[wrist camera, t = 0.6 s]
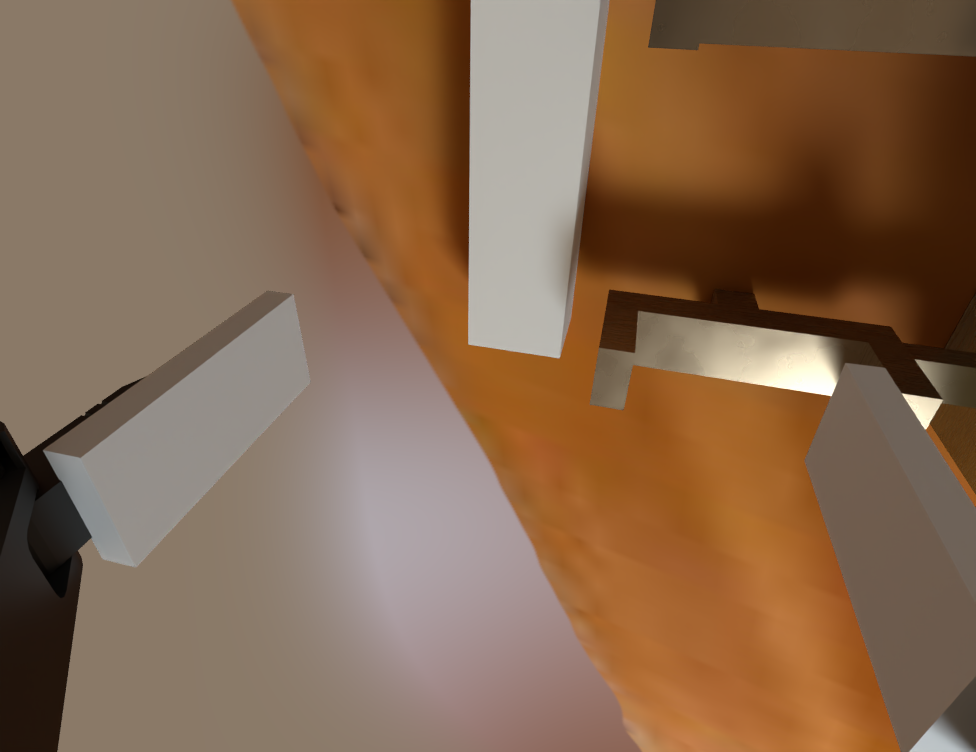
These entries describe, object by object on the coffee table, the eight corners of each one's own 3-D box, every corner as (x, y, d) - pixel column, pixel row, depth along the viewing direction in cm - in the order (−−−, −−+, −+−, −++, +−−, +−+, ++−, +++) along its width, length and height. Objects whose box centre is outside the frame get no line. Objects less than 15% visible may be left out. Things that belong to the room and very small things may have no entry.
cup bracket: (678, -131, 22) (699, -276, 11) (1272, -135, 18) (2264, -362, 7) (599, 352, 34) (569, 524, 23) (945, 405, 31) (1113, 640, 19)
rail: (502, -66, 25) (471, -81, 21) (617, -66, 24) (609, -80, 20) (490, 304, 35) (468, 344, 31) (571, 315, 34) (559, 358, 30)
